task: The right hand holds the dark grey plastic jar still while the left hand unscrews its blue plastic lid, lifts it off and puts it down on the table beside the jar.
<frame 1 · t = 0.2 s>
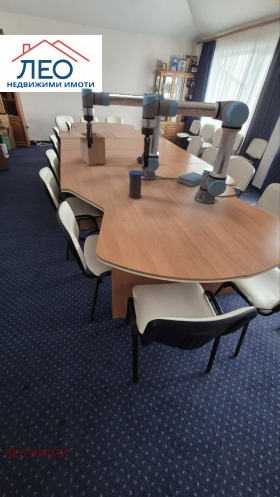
left hand: (90, 146, 173), 28 cm above the table, tool pointing down, fingers open, 13 cm apart
right hand: (145, 164, 142), 28 cm above the table, tool pointing down, fingers open, 13 cm apart
box: (93, 161, 237), on the table
laser sight: (146, 163, 242), on the table
jar: (134, 196, 169), on the table
book: (191, 182, 203), on the table
lid: (135, 172, 159), point 18 cm above the table, screwed on, not yet turned
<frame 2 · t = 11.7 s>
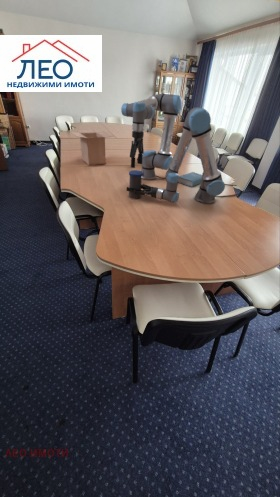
left hand: (136, 165, 156), 23 cm above the table, tool pointing down, fingers open, 11 cm apart
right hand: (129, 186, 167), 6 cm above the table, tool horizontal, fingers closed on jar, 9 cm apart
jar: (134, 196, 169), on the table, touching right hand
everything else where it was.
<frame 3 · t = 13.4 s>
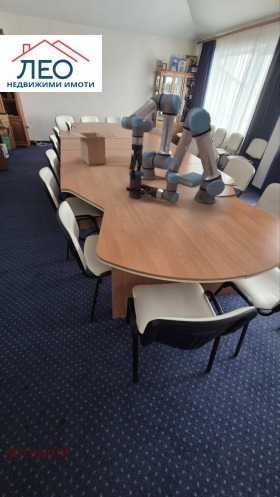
left hand: (135, 176, 160), 15 cm above the table, tool pointing down, fingers closed on lid, 10 cm apart
right hand: (129, 186, 167), 6 cm above the table, tool horizontal, fingers closed on jar, 9 cm apart
jar: (134, 196, 169), on the table, touching right hand
lid: (136, 172, 159), point 18 cm above the table, screwed on, not yet turned, touching left hand
everything else where it was.
when the left hand's fingers open (15 cm above the table, at t = 15.1 s): lid stays where it is, point 18 cm above the table.
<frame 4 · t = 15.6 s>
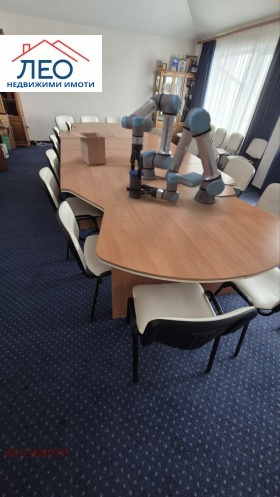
left hand: (135, 176, 160), 15 cm above the table, tool pointing down, fingers open, 11 cm apart
right hand: (129, 186, 167), 6 cm above the table, tool horizontal, fingers closed on jar, 9 cm apart
jar: (134, 196, 169), on the table, touching right hand
lid: (136, 172, 158), point 18 cm above the table, turned 111° so far, risen 0.3 cm, still on its thread
everything else where it was.
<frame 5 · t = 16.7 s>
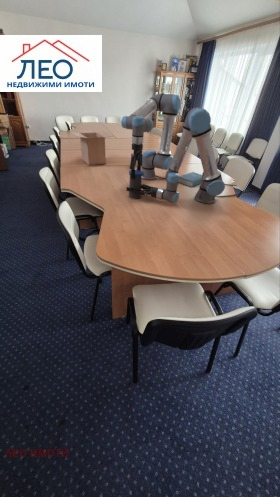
left hand: (135, 176, 160), 15 cm above the table, tool pointing down, fingers closed on lid, 10 cm apart
right hand: (129, 186, 167), 6 cm above the table, tool horizontal, fingers closed on jar, 9 cm apart
jar: (134, 196, 169), on the table, touching right hand
lid: (136, 172, 158), point 18 cm above the table, turned 111° so far, risen 0.3 cm, still on its thread, touching left hand
everything else where it was.
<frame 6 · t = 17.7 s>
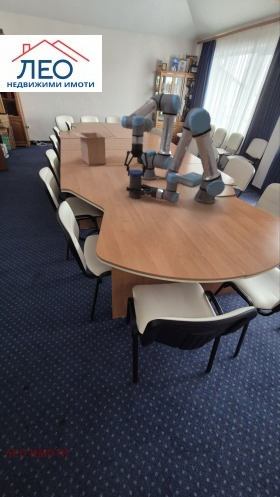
left hand: (135, 176, 160), 15 cm above the table, tool pointing down, fingers closed on lid, 10 cm apart
right hand: (129, 186, 167), 6 cm above the table, tool horizontal, fingers closed on jar, 9 cm apart
jar: (134, 196, 169), on the table, touching right hand
lid: (136, 172, 158), point 18 cm above the table, off its thread, touching left hand
everything else where it was.
when the left hand's fingers open (0 cm above the table, at t = 23.7 s): lid drops 2 cm, point 1 cm above the table.
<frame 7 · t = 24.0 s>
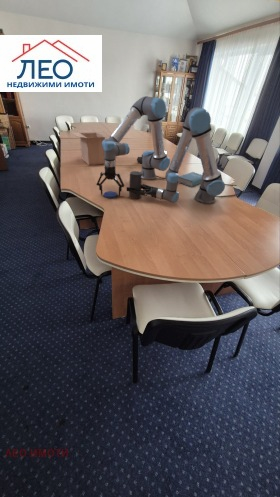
left hand: (110, 194, 167), 1 cm above the table, tool pointing down, fingers open, 13 cm apart
right hand: (129, 186, 167), 6 cm above the table, tool horizontal, fingers closed on jar, 9 cm apart
jar: (134, 196, 169), on the table, touching right hand
lid: (110, 194, 166), point 1 cm above the table, off its thread
everything else where it was.
when the right hand's fingers open (6 cm above the table, at t = 24.8 s): jar stays where it is, on the table.
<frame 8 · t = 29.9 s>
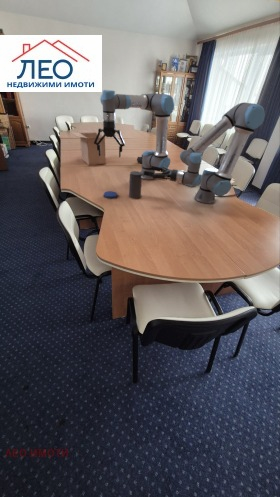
left hand: (109, 156, 150), 28 cm above the table, tool pointing down, fingers open, 13 cm apart
right hand: (148, 170, 154), 21 cm above the table, tool horizontal, fingers open, 13 cm apart
jar: (134, 196, 169), on the table
everything else where it was.
at the end: lid came off its thread; lid point 1.3 cm above the table; the left hand is holding nothing; the right hand is holding nothing; jar tilted 0°; jar moved 0.0 cm from its start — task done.
